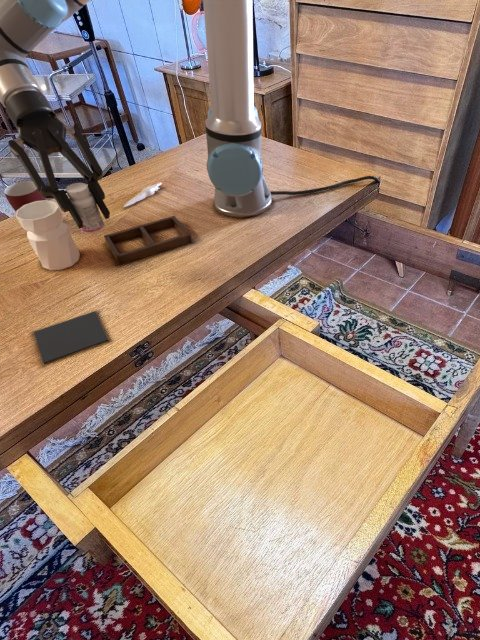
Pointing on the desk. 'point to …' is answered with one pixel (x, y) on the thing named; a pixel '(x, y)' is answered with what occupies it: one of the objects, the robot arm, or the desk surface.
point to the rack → (147, 239)
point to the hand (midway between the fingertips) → (94, 220)
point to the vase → (48, 234)
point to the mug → (22, 194)
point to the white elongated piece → (144, 194)
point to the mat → (70, 337)
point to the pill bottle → (85, 207)
